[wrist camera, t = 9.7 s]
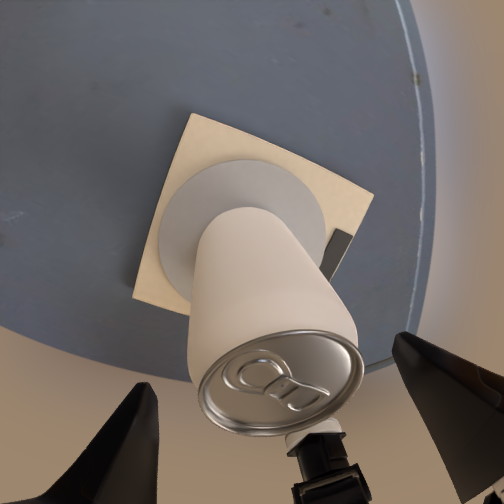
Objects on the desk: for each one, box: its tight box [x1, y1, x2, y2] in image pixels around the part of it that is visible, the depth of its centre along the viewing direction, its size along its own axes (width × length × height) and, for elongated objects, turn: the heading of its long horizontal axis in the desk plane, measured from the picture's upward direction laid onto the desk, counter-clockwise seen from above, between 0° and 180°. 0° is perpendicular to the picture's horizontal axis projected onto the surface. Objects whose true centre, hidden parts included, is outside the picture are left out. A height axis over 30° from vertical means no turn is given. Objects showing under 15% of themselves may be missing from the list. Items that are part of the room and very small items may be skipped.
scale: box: [132, 113, 374, 316], centre depth 20 cm, size 14×14×2 cm
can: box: [187, 207, 364, 437], centre depth 14 cm, size 6×6×12 cm
